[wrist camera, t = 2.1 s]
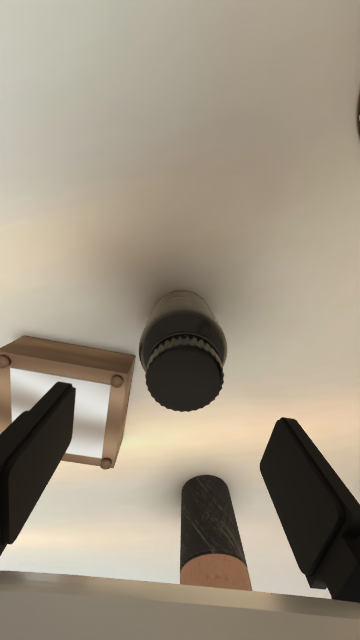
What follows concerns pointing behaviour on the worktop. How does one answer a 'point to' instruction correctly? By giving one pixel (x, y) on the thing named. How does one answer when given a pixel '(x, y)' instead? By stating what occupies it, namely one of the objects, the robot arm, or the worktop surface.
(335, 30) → the worktop surface
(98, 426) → the walnut base block
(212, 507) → the travel mug
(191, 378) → the supplement bottle
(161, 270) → the worktop surface
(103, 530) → the worktop surface
